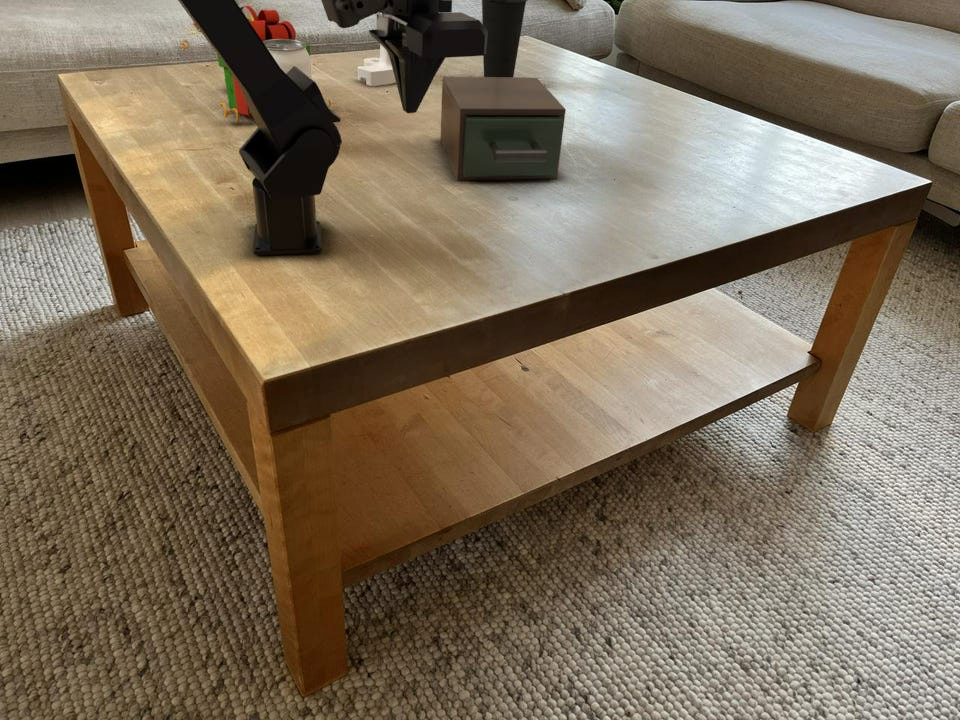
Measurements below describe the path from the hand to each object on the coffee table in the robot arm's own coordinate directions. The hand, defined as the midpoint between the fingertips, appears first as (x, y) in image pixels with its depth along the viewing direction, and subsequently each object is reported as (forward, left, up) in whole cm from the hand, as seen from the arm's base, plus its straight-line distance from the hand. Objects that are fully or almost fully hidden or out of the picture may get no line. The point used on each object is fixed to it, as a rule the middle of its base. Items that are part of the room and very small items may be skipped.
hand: (409, 112), depth 75 cm
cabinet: (+18, -14, -12) cm, 25 cm away
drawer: (+14, -14, -11) cm, 22 cm away
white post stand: (+57, -2, -12) cm, 58 cm away
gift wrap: (+36, +18, -12) cm, 42 cm away
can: (+25, +13, -11) cm, 30 cm away
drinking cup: (+54, -22, -12) cm, 59 cm away
